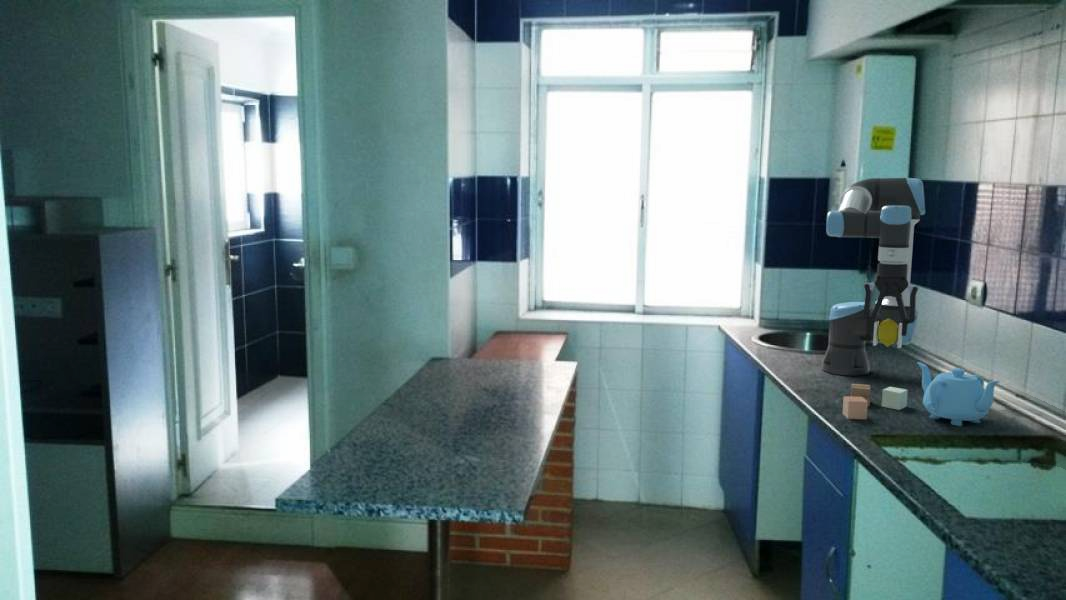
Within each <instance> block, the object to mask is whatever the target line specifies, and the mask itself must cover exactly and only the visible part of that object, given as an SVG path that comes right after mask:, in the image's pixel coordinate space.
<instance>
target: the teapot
mask: <svg viewBox="0 0 1066 600" xmlns="http://www.w3.org/2000/svg"><path fill="white" fill-rule="evenodd" d="M916 363H917V365H918V366H919V367H920V369H921V372H922V374H921V375H922V379H921V387H922V390H923V393H924V394H923V398H922V404H923V407H924V409H926V410H927V411H928V412H929V414H930V415H929V416H928V418H929V417H930V418H929V419H931V418H934V419H933V420H940V419H941V418H942V419H948V420H950V425H951V424H952V425H951V426H953V425H957V426H956V427H963V426H962V425H963V421H965V422H966V421H968V422H970V423H972V422H973V424H981V419H982V418H984V417H985V416H986V415H987V414H988V413H989V412H990V409H991V407H992V406H993V403H994V398H995V397H994V396H995V395H994V393H995V388H996V386H997V384H999V383H1000V382H1001V380H993V381H992V380H991V381H989V382H987V384H986V386H985V387H984V385H985V381H984V378H983V377H982V376H980V375H978V374H967V373H965V372H966V370H965V369H963V368H958V367H957V368H955V367H954V368H951V372H940V373H939V374H937V375H936V376H935V377H934V379H933V380H932V377H931V371H930V369H929V367H928V366H927V365H926V364H925V363H923V362H919V361H917V362H916Z"/></svg>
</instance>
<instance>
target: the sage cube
mask: <svg viewBox="0 0 1066 600" xmlns="http://www.w3.org/2000/svg"><path fill="white" fill-rule="evenodd" d="M908 394H909V393H908V389H905V388H900V387H894V386H888V387H886V388H883V389H882V395H881V407H884V408H888V409H892V410H898V411H900V410H902V409H904V408H906V407H907V406H908V405H907V404H908V403H907V402H908Z"/></svg>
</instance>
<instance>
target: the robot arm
mask: <svg viewBox="0 0 1066 600" xmlns="http://www.w3.org/2000/svg"><path fill="white" fill-rule="evenodd" d="M924 191H925V190H924V183H923V180H922V179H920V178H912V177H887V178H886V177H881V178H880V177H879V178H877V177H871V178H870V177H869V178H865V179H861V180H859V181H856V182H854V183H853V184H851V185H849V186H848V187H847V188H845V189H844V190H843V192H842V193H841V195H840V200H839V201H840V202H839V203H840V207H839V209H837V210H830V211H828V212H827V215H826V224H825V225H826V227H825V230H826V234H827V236H829V237H835V238H836V237H837V238H866V239H867V238H869V239H870V238H871V239H874V238H877V239H878V240H879V244H878V253H877V260H878V263H877V269H876V270H877V272H876V279H875V280H874V281H873V282H866V283H865V284H864V285H863V287H864V290H865V299H864V301H849V302H840V303H837V304H834V305H833V306H831V308H830V313H829V317H828V320H829V327H828V328H829V329H828V341H827V342H828V343H827V344H828V345H827V348H826V351H825V353H824V356H823V358H822V362H821V370H822V371H823V372H825V373H830V374H835V375H838V376H840V375H841V376H855V377H857V376H864V375H868V374H870V363H869V360H868V359H869V358H868V356H867V352H866V343H872V346H873V347H874V346H877V345H878V344H882V343H881V342H880V341H879V339H878V336H877V330H878V327H879V325H880V323H881V322H882V321H884V320H887V319H891V320H893V321H894V322H896V323H897V325H898V327H899V332H898V340H897V341H896V342H895V343H894V344H893V345H894V346H896V345H897V349H901V348H902V346H903V345H905V346H906V345H909V344H911V343H912V341H913V338H914V334H915V329H916V325H917V322H918V321H917V319H918V314H919V310H917V309H916V307H917V306H916V304H917V302H916V300H917V293H918V290H919V286H918V285H912V284H911V277H912V276H911V273H912V261H913V260H912V259H913V249H914V248H913V246H914V245H913V244H914V232H915V225H916V224H917V223H919V222H920V220H921V216H923V215H925V214H926V206H925V205H926V204H925V203H926V202H925V192H924ZM875 287H876V289H877V291H878V292H879V295H878V299H877V300H876V301H875V302H874V307H871V306H872V305H871V303H872V296H873V291H874V289H875Z"/></svg>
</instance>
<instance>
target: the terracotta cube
mask: <svg viewBox="0 0 1066 600" xmlns="http://www.w3.org/2000/svg"><path fill="white" fill-rule="evenodd" d="M842 399H843V401H842V415H843V416H845V419H848V420H867V419H868V407H869V406H868V402H867V401H866V400H865V399H864V398H863V397H851V395H850V396H846V395H845V396H843V398H842Z"/></svg>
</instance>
